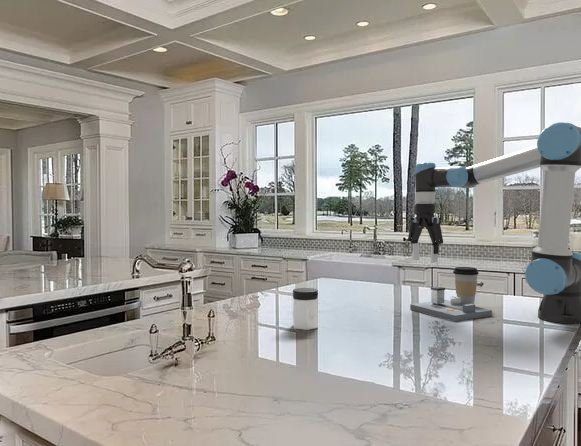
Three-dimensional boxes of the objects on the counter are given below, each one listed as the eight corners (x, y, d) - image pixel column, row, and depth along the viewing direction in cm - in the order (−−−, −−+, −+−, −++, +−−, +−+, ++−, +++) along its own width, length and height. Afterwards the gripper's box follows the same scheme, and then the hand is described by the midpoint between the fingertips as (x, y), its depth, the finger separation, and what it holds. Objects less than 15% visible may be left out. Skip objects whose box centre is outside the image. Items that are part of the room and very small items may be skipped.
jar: (301, 331, 153) (301, 293, 152) (287, 326, 160) (286, 289, 159) (324, 327, 158) (324, 290, 157) (309, 322, 165) (309, 286, 164)
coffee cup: (482, 309, 184) (482, 269, 183) (457, 309, 184) (457, 269, 184) (473, 304, 193) (473, 266, 193) (449, 304, 193) (449, 266, 193)
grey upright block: (445, 303, 183) (445, 287, 183) (437, 304, 182) (437, 288, 181) (438, 301, 186) (438, 285, 186) (430, 302, 185) (430, 286, 184)
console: (491, 315, 173) (492, 302, 173) (455, 321, 165) (455, 307, 165) (445, 304, 193) (445, 293, 193) (410, 309, 184) (410, 297, 184)
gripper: (454, 202, 181) (453, 263, 182) (412, 203, 201) (412, 258, 201) (438, 202, 178) (438, 264, 178) (398, 203, 197) (398, 259, 198)
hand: (424, 261), depth 190 cm, fingers open, 9 cm apart
